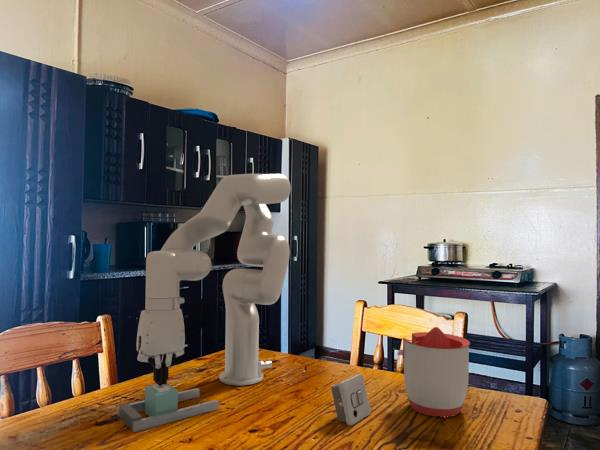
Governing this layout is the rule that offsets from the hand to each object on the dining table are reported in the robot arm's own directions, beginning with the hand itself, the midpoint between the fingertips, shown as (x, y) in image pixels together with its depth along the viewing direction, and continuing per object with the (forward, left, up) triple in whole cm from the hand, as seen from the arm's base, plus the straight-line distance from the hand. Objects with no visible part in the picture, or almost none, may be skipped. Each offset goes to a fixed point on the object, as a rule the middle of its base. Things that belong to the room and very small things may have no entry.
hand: (160, 383), depth 104 cm
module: (0, 0, -7) cm, 7 cm away
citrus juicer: (-54, +36, -7) cm, 65 cm away
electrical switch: (-34, +28, -7) cm, 45 cm away
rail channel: (-2, 0, -7) cm, 7 cm away
